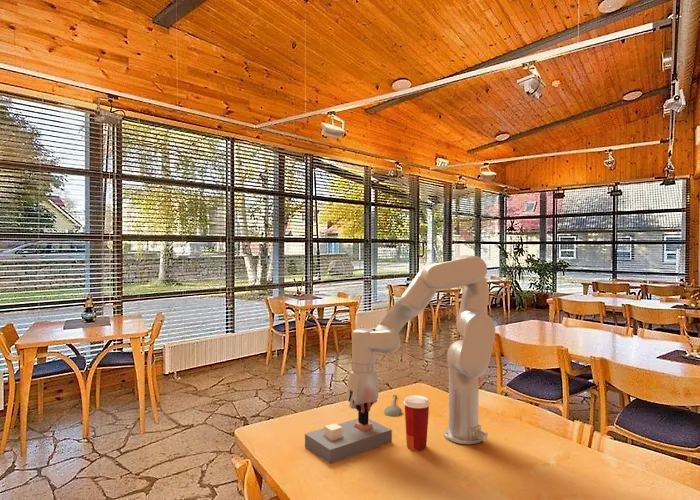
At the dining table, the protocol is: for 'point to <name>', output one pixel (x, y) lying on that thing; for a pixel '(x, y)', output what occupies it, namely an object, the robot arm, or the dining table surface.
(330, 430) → the cream cube block
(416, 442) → the coffee cup
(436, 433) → the dining table surface
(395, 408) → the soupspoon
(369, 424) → the peach square button
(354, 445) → the button panel
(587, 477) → the dining table surface
